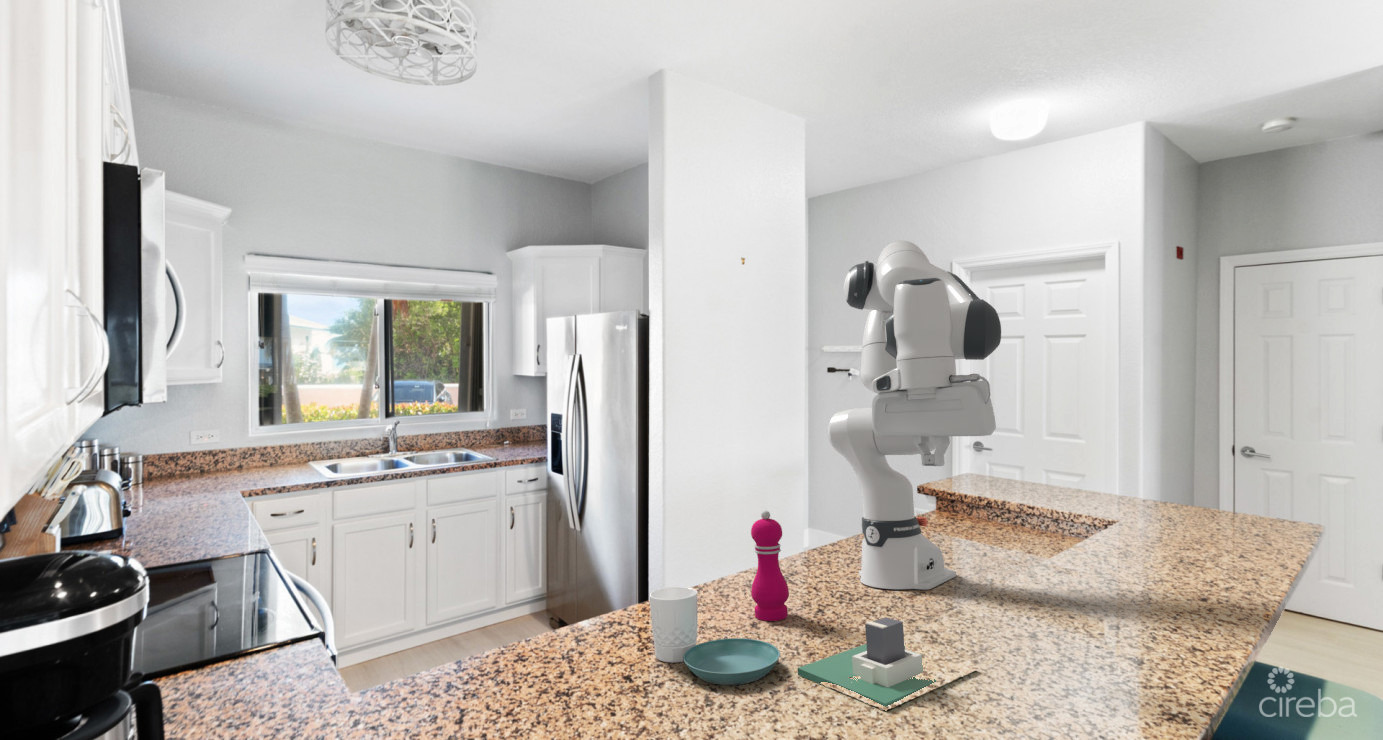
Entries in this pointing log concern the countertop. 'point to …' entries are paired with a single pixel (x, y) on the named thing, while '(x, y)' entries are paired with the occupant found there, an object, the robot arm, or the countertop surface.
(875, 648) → the plug
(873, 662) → the board
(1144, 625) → the countertop surface
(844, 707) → the countertop surface
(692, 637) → the white cup
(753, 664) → the saucer
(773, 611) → the pepper mill
